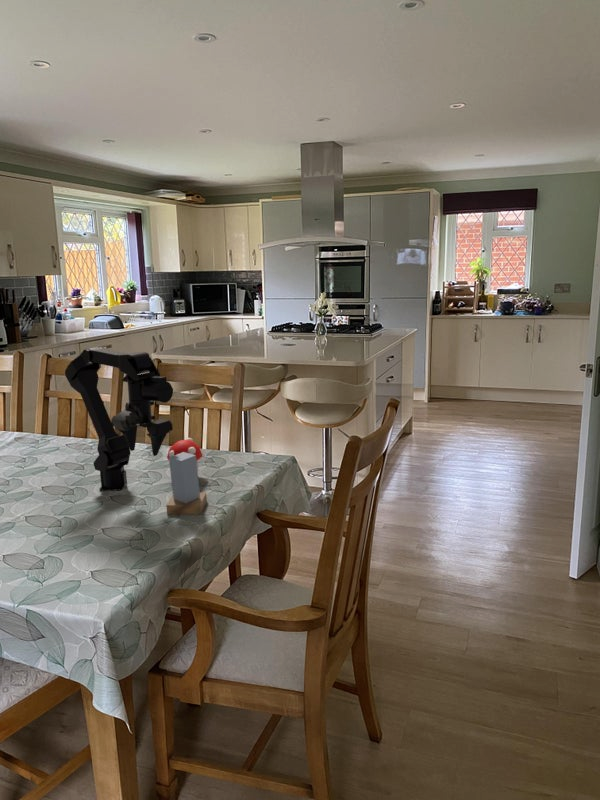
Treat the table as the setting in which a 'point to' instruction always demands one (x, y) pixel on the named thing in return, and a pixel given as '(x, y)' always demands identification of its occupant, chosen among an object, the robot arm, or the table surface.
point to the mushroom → (185, 449)
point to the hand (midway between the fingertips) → (143, 452)
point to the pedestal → (187, 505)
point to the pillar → (184, 477)
